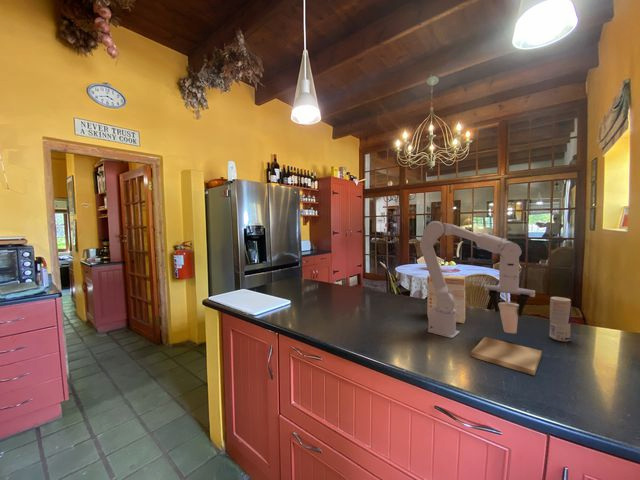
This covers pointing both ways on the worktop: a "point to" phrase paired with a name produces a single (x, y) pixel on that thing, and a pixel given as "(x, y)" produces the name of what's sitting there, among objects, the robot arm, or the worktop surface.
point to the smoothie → (509, 315)
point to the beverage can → (560, 318)
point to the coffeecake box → (455, 287)
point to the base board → (508, 355)
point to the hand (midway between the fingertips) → (508, 313)
